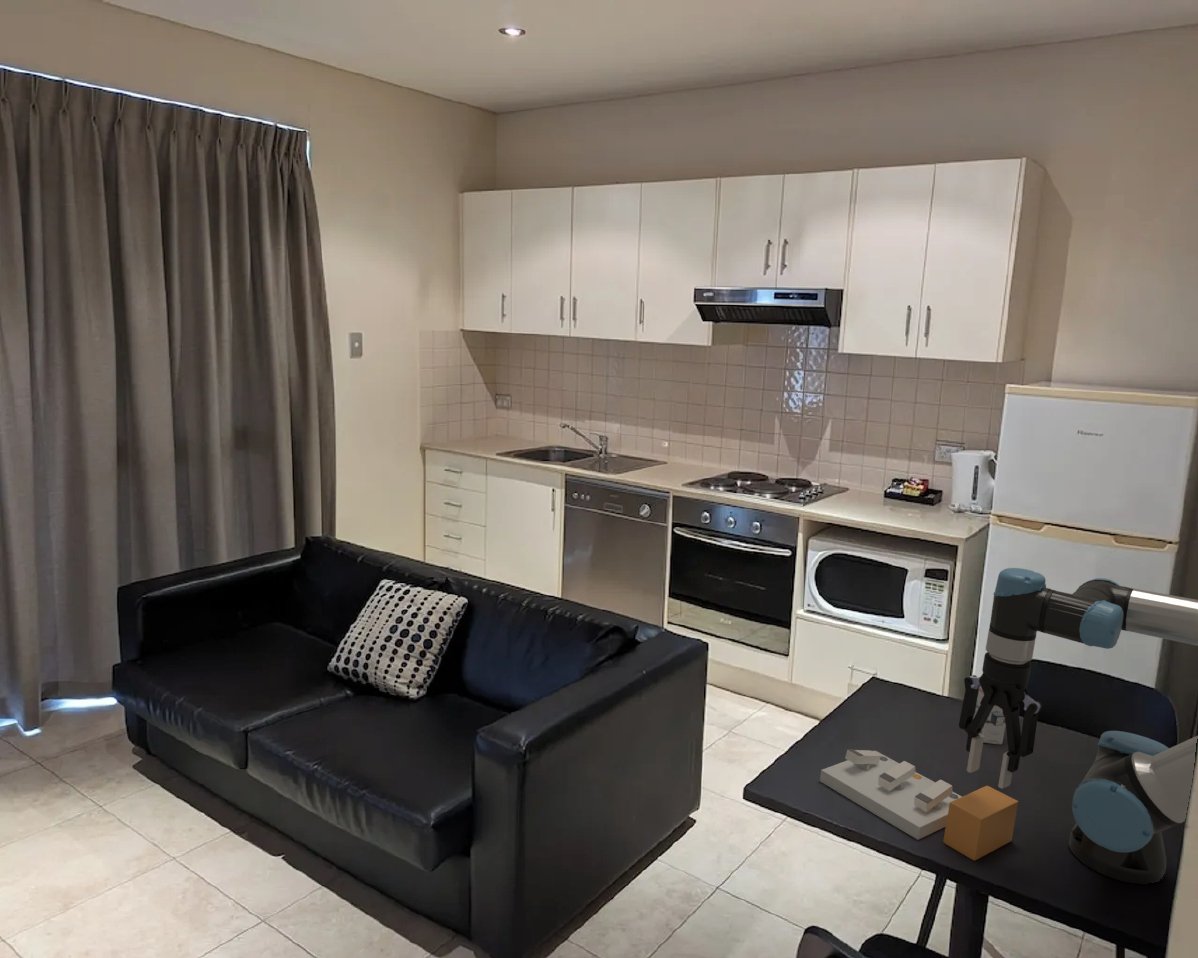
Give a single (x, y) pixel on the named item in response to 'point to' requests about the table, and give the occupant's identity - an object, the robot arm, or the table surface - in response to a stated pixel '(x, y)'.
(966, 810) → the brown block
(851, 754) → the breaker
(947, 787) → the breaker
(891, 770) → the block
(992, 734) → the ink box
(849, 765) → the panel
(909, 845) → the table surface
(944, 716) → the table surface
